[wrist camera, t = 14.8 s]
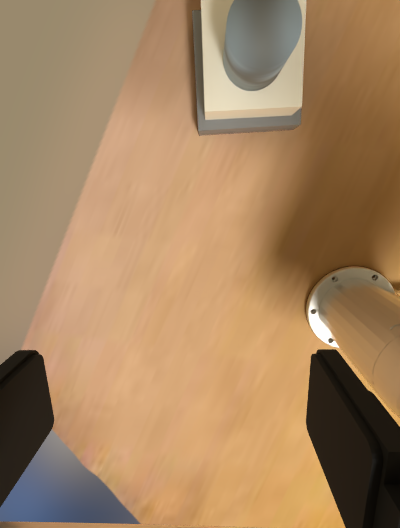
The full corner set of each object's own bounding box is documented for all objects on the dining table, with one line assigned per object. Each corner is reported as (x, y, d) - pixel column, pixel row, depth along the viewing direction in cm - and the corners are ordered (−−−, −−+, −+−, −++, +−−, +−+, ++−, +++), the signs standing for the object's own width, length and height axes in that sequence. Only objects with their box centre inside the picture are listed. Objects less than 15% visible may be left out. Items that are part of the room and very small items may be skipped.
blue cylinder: (284, 19, 28) (303, -24, 23) (283, 89, 30) (300, 65, 24) (222, 24, 29) (225, -17, 23) (224, 93, 30) (227, 71, 24)
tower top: (294, 13, 32) (306, -11, 28) (291, 115, 34) (301, 106, 30) (201, 19, 32) (200, -4, 28) (205, 120, 34) (204, 111, 31)
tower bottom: (294, 21, 35) (304, 1, 31) (291, 130, 38) (300, 124, 34) (194, 29, 36) (192, 10, 32) (199, 136, 39) (198, 130, 35)
